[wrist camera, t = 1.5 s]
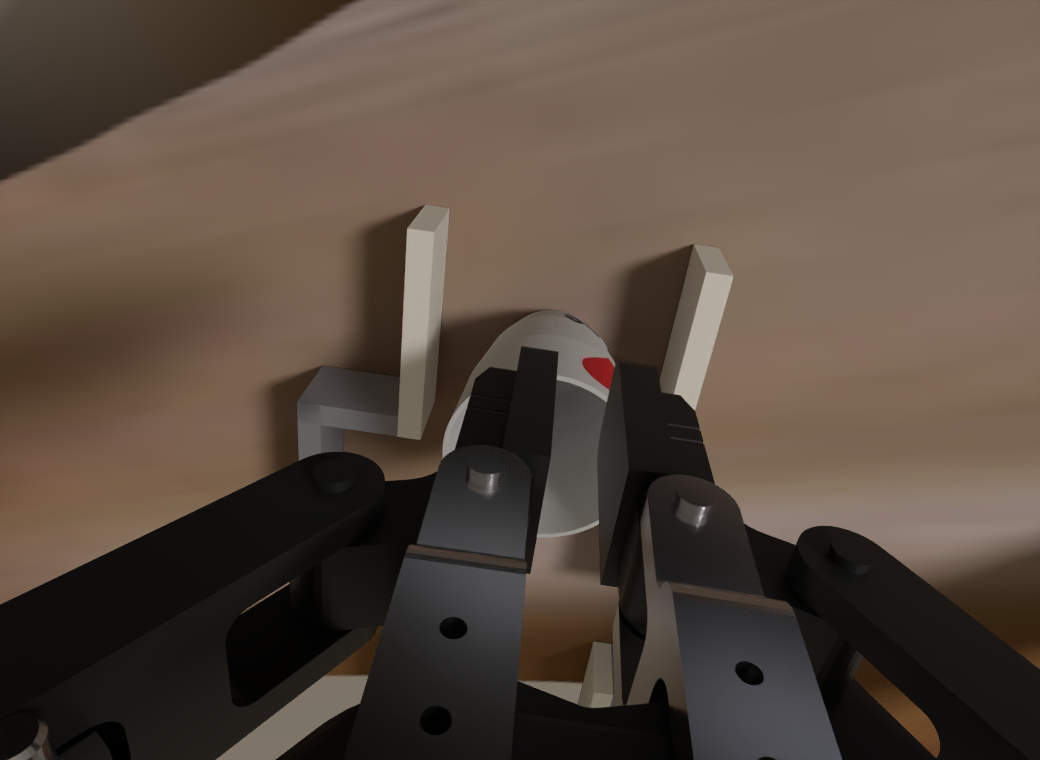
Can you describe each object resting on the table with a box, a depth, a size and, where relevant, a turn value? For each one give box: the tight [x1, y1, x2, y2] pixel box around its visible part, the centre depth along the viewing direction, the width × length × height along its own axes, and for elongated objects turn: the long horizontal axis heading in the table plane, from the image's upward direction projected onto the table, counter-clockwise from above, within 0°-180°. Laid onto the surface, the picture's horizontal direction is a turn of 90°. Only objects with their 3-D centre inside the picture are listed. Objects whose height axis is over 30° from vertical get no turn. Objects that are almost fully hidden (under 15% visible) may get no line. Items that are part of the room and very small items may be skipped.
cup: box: [443, 310, 615, 537], centre depth 33 cm, size 8×8×10 cm
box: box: [297, 205, 734, 708], centre depth 42 cm, size 25×39×4 cm, turn 173°
